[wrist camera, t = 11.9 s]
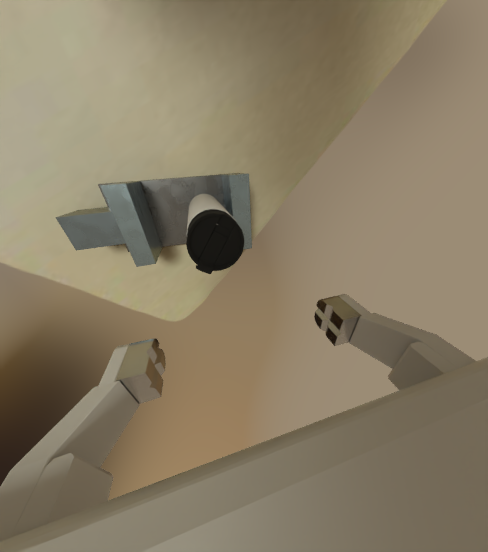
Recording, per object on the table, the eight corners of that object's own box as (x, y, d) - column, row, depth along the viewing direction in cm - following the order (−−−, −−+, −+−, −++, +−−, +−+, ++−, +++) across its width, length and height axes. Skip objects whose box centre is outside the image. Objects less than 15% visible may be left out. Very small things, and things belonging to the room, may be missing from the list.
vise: (131, 248, 36) (113, 270, 28) (103, 183, 30) (68, 188, 22) (241, 232, 41) (254, 247, 32) (237, 173, 34) (251, 173, 26)
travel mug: (182, 218, 34) (174, 261, 17) (197, 186, 32) (203, 201, 15) (211, 233, 37) (227, 282, 20) (226, 204, 35) (257, 233, 18)
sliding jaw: (103, 255, 34) (81, 275, 27) (65, 186, 27) (26, 191, 21) (162, 247, 36) (155, 263, 29) (140, 181, 29) (125, 183, 23)
